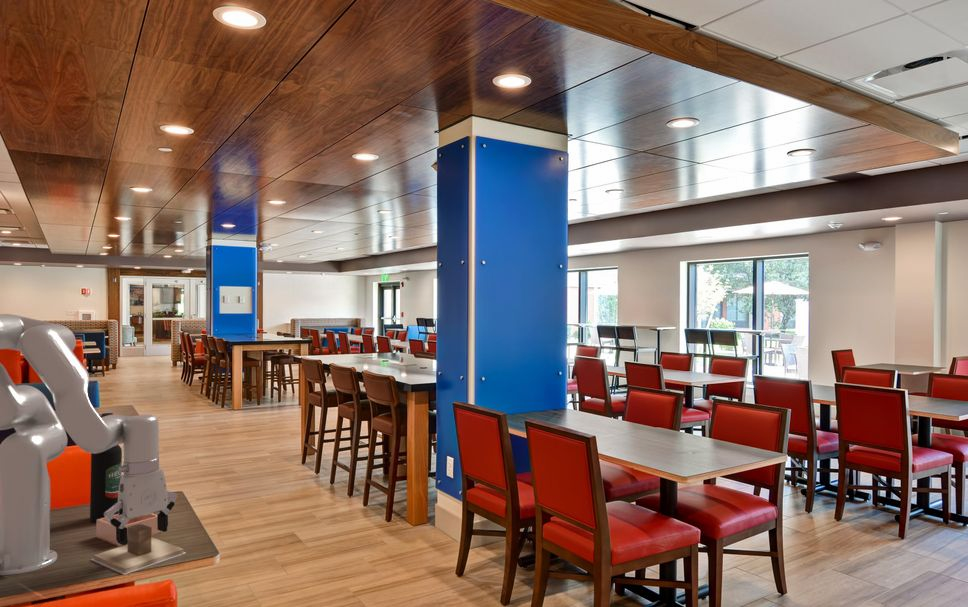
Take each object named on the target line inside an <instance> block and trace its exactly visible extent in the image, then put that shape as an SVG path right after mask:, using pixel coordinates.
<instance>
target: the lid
mask: <svg viewBox="0 0 968 607" xmlns="http://www.w3.org/2000/svg"><path fill="white" fill-rule="evenodd" d="M183 552H184V548H183V547H179V546H177V545H173V544H172V543H169V542H167V541H163V540H160V539H158V538H155V537H153V536H152V527H149V526H146V525H143V524H137V525H133V526H130V527H128V544H127V545H122V546H118V547H116V548H113V549H109V550H106V551H103V552H99V553H96V554H94V555H93V559H94V560H96V561H99V562H101V563H103V564H106V565H108V566H110V567H112V568H115V569H117V570H119V571H121V572H124V573H127V572H130V571H133V570H136V569H139V568H142V567H145V566H147V565H150V564H153V563H156V562H159V561H162V560H165V559H168V558H171V557H173V556H176V555H179V554H182V553H183ZM182 555H183V554H182ZM179 556H180V555H179ZM171 559H172V558H171ZM168 560H169V559H168ZM165 561H166V560H165ZM162 562H163V561H162ZM159 563H160V562H159ZM156 564H157V563H156ZM145 568H146V567H145ZM142 569H143V568H142ZM139 570H140V569H139ZM136 571H137V570H136Z"/></svg>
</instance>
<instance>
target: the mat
mask: <svg viewBox="0 0 968 607" xmlns="http://www.w3.org/2000/svg"><path fill="white" fill-rule="evenodd" d="M185 554H187V552H185V551H183V553H182V554H179V555H176V556H173V557H171V558H168V559H165V560H162V561H159V562H156V563H153V564H150V565H147V566H145V567H142V568H139V569H136V570H133V571H130V572H127V573H124V572H121V571H119V570H117V569H115V568H112V567H110V566H108V565H106V564H103V563H101V562H99V561H96V560H94V558H92V559H90V560H91V561H92V562H95V563H97V564H100V565H101V566H103V567H106V568H108V569H110V570H112V571H114V572H117V573H120V574H121V575H124V576H125V575H128V574H130V573H133V572H136V571H139V570H142V569H145V568H147V567H151V566H153V565H157V564H158V563H161V562H165V561H168V560H170V559H173V558H176V557H179V556H182V555H185Z"/></svg>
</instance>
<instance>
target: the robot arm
mask: <svg viewBox="0 0 968 607" xmlns="http://www.w3.org/2000/svg"><path fill="white" fill-rule="evenodd" d="M76 346H77V340H76V337H75V334H74V333H73V331H72V330H70V328H68V327H67V326H64V325H62V324H57V323H53V322H50V321H49V322H48V321H44V320H40V319H35V318H30V317H25V316H21V315H16V314H10V313H0V350H6V349H7V350H12V351H13V350H14V351H18V352H20V353H21V354H22V356H23V357H24V358H25V360H26V361H27V362H28V364H29V366H30V367H31V368H32V369H33V370H34V371H35V373H36V374H37V376H38V377H39V378H40V380H41V381H42V382H43V384H44V385H45V387H46V388H47V389H48V390H49V392H50V393H51V396H52V399H53V405H54V408H55V410H54V408H53V406H52V405H51V403H50V401H49V400H48V398H47V397H46V395H45V394H44V393H43V392H42V391H40V389H38V388H36V387H34V386H32V385H26V384H22V385H21V384H20V385H19V384H18V385H16V384H15V383H14V382H13V379H12V378H11V377H10V375H9V373H8V371H7V369H6V368H5V366H4V365H3V364H2V363H1V362H0V431H5V430H9V429H14V431H15V432H14V433H12V434H10V435H9V436H7V437H6V438H5V439H4V440H3V441H1V443H0V576H7V575H8V576H9V575H18V574H25V573H29V572H33V571H37V570H40V569H43V568H45V567H47V566H50V565H51V564H53V563H55V562H56V560H57V559H58V552H57V551H55V550H52V549H50V542H51V541H50V539H51V538H50V537H51V536H50V535H51V534H50V532H51V478H50V474H49V471H48V466H47V463H49V462H52V461H54V460H55V459H56V458H59V457H60V456H61V455H62V454H63V453H64V452H65V450H66V448H67V446H68V436H67V434H68V435H69V437H70V438H71V440H72V441H73V442H74V443H75V444H76V445H77V447H79V449H81V450H82V451H84V452H86V453H89V454H91V453H94V454H95V453H101V452H104V451H106V450H108V449H110V448H111V447H113V446H116V445H119V446H120V444H123V461H122V466H121V467H119V468H118V470H119V472H122V473H123V474H122V475H121V480H120V485H119V492H118V502H117V503H116V504H115V505H113V506H112V507H111V508H110V509H108V510H107V511H106V512H105V513H104V516H105V518H106V519H107V520H108V522H109V523H110V524H111V525H113V526H114V527H116V540H117V542H118V543H119V544H122V546H125V545H128V544H127V543H128V538H127V528H126V527H125V525H126V524H127V523H128V521H129V520H130V519H134V518H138V517H141V516H145V515H148V514H152V513H155V512H156V513H157V512H158V514H157V528H158V530H160V531H161V532H164V533H166V532H168V526H169V514H170V513H171V510H172V509H173V507H174V506H175V502H176V501H177V498H178V493H176V492H173V491H169V490H168V488H167V487H168V486H167V481H166V476H165V474H164V469H163V468H160V443H159V442H160V440H159V439H160V437H159V436H160V434H159V432H160V431H159V429H160V428H159V419H158V417H157V416H156V415H153V414H138V415H124V414H123V415H121V414H113V415H108V416H104V417H102V418H101V416H100V415H99V413H98V412H97V411H96V410H95V407H94V406H93V404H92V403H91V401H90V398H89V394H88V393H89V392H88V388H89V383H90V374H89V372H88V370H87V369H86V368H85V367H84V365H83V364H82V362H81V361H80V360H79V358H78V357H77V355H75V353H74V350H75V348H76ZM55 411H56V412H55ZM117 511H118V514H119V517H118V518H117V519H115V517H114V513H116V512H117ZM156 513H155V514H156Z"/></svg>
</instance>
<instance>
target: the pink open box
mask: <svg viewBox="0 0 968 607" xmlns="http://www.w3.org/2000/svg"><path fill="white" fill-rule="evenodd" d="M157 515H158V514H157V513H155V514H154V513H152V514H148V515H145V516H141V517H138V518H134V519H130V520H129V521H128V523H127V524H126V525H125V527H126V528H127V538H128V527H130V526H133V525H137V524H143V525H146V526H149V527H152V536H151V537H153V536H156V535H159V534H161V533H162V531H160V530H158V528H157ZM114 517H115V519H117V518H118V517H119V514H116V515H114ZM95 524H96V528H95V529H96V531H95V532H96V534H95V537H96V538H97V539H99V540H102V541H104V542H107V543H108V544H111V545H114V546H116V547H122V546H123V545H122V544H119V543H118V542H117V540H116V527H114V526H113V525H111V524H110V523H109V522H108V520H107V519H106V518H101V519H97V521H96V523H95ZM127 545H128V543H127Z"/></svg>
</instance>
